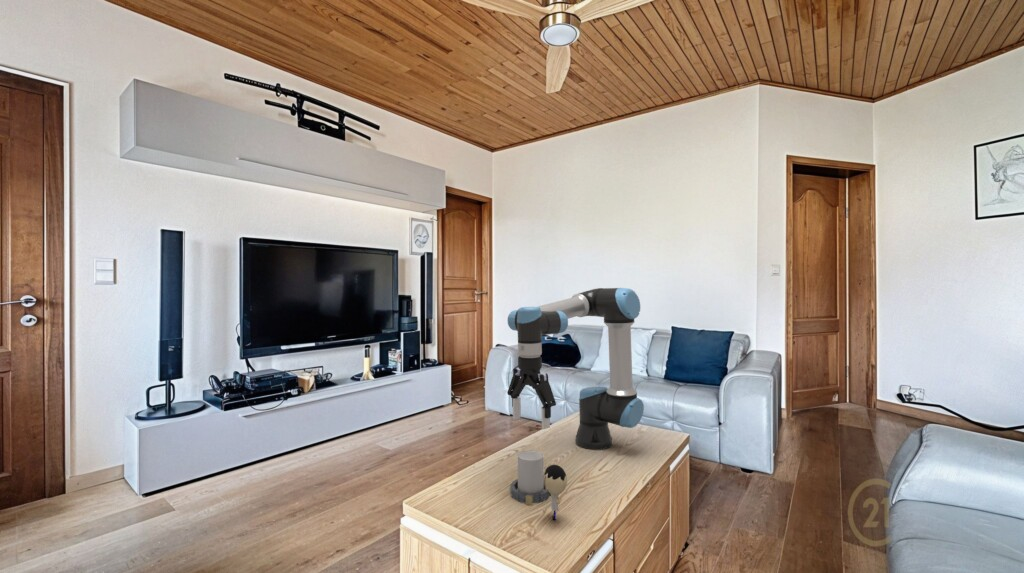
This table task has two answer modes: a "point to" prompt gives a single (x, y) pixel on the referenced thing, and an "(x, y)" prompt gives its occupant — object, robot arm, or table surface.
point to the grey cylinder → (530, 472)
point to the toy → (555, 485)
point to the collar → (528, 495)
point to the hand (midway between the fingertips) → (530, 423)
